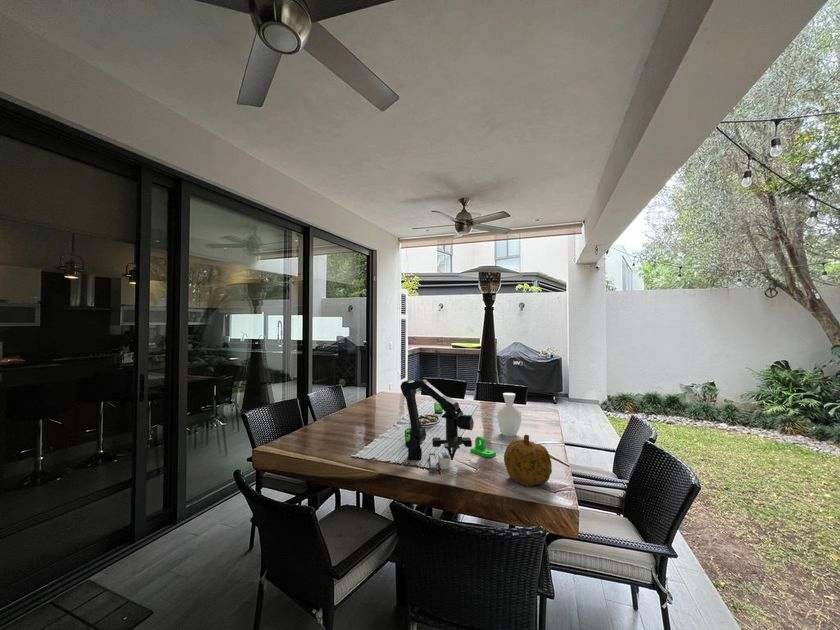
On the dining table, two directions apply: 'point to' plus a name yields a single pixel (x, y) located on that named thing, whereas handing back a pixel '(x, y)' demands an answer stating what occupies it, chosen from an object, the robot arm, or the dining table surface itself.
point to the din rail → (432, 463)
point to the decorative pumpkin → (527, 462)
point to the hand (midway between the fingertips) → (451, 459)
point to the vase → (509, 416)
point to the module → (444, 460)
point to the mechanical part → (482, 448)
